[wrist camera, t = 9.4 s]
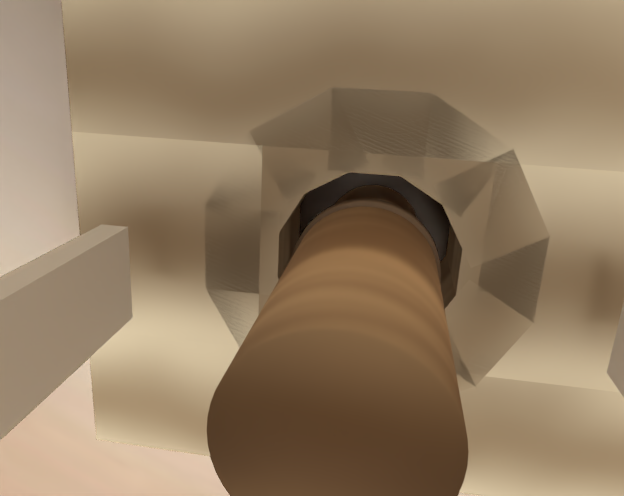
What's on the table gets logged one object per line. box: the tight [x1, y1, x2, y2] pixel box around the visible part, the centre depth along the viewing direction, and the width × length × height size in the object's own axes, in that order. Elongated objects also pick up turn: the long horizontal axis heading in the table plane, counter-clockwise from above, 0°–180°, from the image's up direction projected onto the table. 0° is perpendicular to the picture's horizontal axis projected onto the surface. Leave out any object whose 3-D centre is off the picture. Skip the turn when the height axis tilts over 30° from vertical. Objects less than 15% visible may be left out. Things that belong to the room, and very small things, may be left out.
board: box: [61, 0, 624, 496], centre depth 19 cm, size 16×19×4 cm
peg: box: [207, 185, 469, 496], centre depth 15 cm, size 4×4×13 cm
